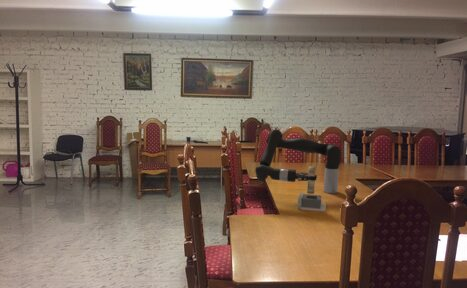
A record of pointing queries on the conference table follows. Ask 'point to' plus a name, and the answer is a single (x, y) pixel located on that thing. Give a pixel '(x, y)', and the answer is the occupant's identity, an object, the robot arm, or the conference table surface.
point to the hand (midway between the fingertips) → (316, 177)
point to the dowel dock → (311, 202)
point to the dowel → (311, 182)
